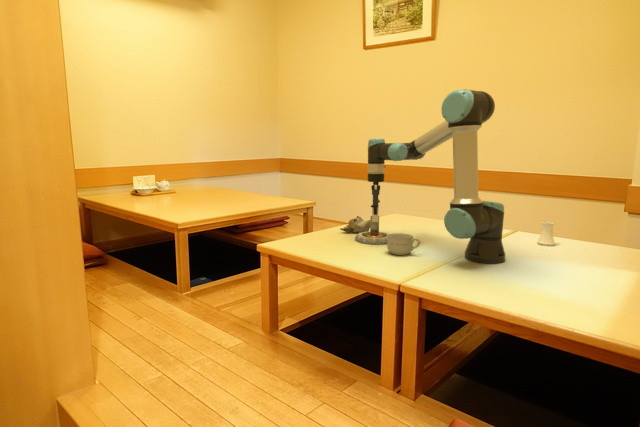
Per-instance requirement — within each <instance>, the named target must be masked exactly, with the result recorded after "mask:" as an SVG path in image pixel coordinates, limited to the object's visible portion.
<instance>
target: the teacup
mask: <svg viewBox="0 0 640 427" xmlns="http://www.w3.org/2000/svg"><path fill="white" fill-rule="evenodd" d="M414 241H417V244H416V245H415V246H414V245H413V244H414ZM386 246H387V250H388V251H389V252H390V253H391V254H392V255H397V256H405V255H406V256H407V255H408V254H409V253H410V252H413V251H414V250H415V249H417V248H418V247H419V246H421V240H420V239H419V237H414V235H413V234H409V233H403V232H402V233H401V232H400V233H399V232H397V233H396V232H395V233H394V232H393V233H388V234H387V244H386Z"/></svg>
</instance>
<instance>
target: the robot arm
mask: <svg viewBox="0 0 640 427" xmlns="http://www.w3.org/2000/svg"><path fill="white" fill-rule="evenodd" d="M441 104H442V105H441V110H440V111H441V115H442V117H443V118H444V121H443V122H441V123H439V124H437V125H436V126H435V127H433V128H431V129H429V130H428V131H427V132H425V133H423V134H421V135H420V136H418V137H417V138H416V139H414V140H412V141H411V142H386V141H385V139H384V138H369V139H368V141H367V142H368V143H367V182H369V183H372V184H373V185H371V195H372V204H371V205H370V208H371V214H372V215H371V216H372V222H378V216H379V208H380V207H379V205H380V204H379V203H381V200H380V199H379V195H380V191H381V185H379V184H380V183H383V182H384V181H385V173H384V172H385V169H386V168H387V165H385V161H392V162H400V161H401V162H402V161H409V160H410V161H411V160H412V161H413V160H414V161H417V160H422V159H423V158H424V157H425V155H426V154H427V153H428V152H431V151H432V150H434V149H435V148H437V147H439V146H441V145H442V144H444V143H446V142H447V141H449V140H451V139H452V162H453V165H452V166H453V167H452V168H453V198H452V200H450V202H449V209H448V211H447V212H446V213H445V215H444V217H443V218H444V220H443V222H444V227H445V230H446V231H447V233H449V234H450V235H451V236H452V237H453V238H455V239H458V240H465V239H469V240H468V243H467V246H466V248H465V250H464V258H465V259H466V260H469V261H471V262H475V263H482V264H500V263H504V262H505V261H506V252H505V248H504V245H503V241H502V240H503V231H504V230H503V229H504V227H503V226H504V217H505V206H504V204H503V203H501V202H497V201H489V200H482V199H481V198H480V196H479V167H478V166H479V164H478V163H479V162H478V161H479V154H478V152H479V150H478V131H479V130H480V129H481V128H482V126H483V124H484V123H486V122H488V120H490V118H491V117H492V116H493V114H494V113H495V109H496V108H495V107H496V105H495V104H496V103H495V99H494V98H493V97H492V95H490V93H488V92H486V91H483V90H482V91H481V90H472V89H467V88H463V89H455V90H452V91H451V92H449V93H448V94H447V95H446V97H445V98H444V100H443V101H442V103H441Z"/></svg>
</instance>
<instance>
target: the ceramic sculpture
mask: <svg viewBox="0 0 640 427" xmlns="http://www.w3.org/2000/svg"><path fill="white" fill-rule="evenodd" d="M339 230H341V231H343V232H345V233H346V232H347V233H354V234H359V233H362V232H370V219H368V220H364V219H363V218H362V217H361V216H358V215H357V216H356V218H354V217H353V218H351V219H350V220H348V224H346V226H344V227H342V228H341V227H340V228H339Z"/></svg>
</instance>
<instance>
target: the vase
mask: <svg viewBox="0 0 640 427" xmlns="http://www.w3.org/2000/svg"><path fill="white" fill-rule="evenodd" d="M554 225H555V223H554V222H552V221H541V232H540V236H539V238H538V239H537V240H536V244H537V245H539V246H543V247H555V246H556V242H555V239H554V234H553V233H554V232H553V230H554Z"/></svg>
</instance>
